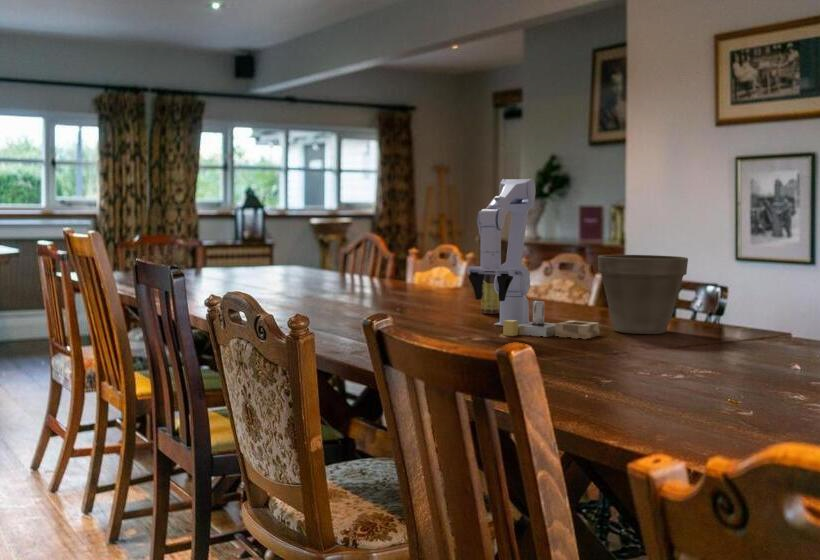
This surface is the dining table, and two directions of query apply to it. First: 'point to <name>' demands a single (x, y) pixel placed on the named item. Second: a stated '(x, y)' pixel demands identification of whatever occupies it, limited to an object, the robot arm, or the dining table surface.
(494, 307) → the sauce bottle
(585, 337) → the rack
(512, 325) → the yellow block
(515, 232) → the robot arm
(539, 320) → the drill peg
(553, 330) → the socket block
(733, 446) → the dining table surface
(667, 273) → the plant pot
